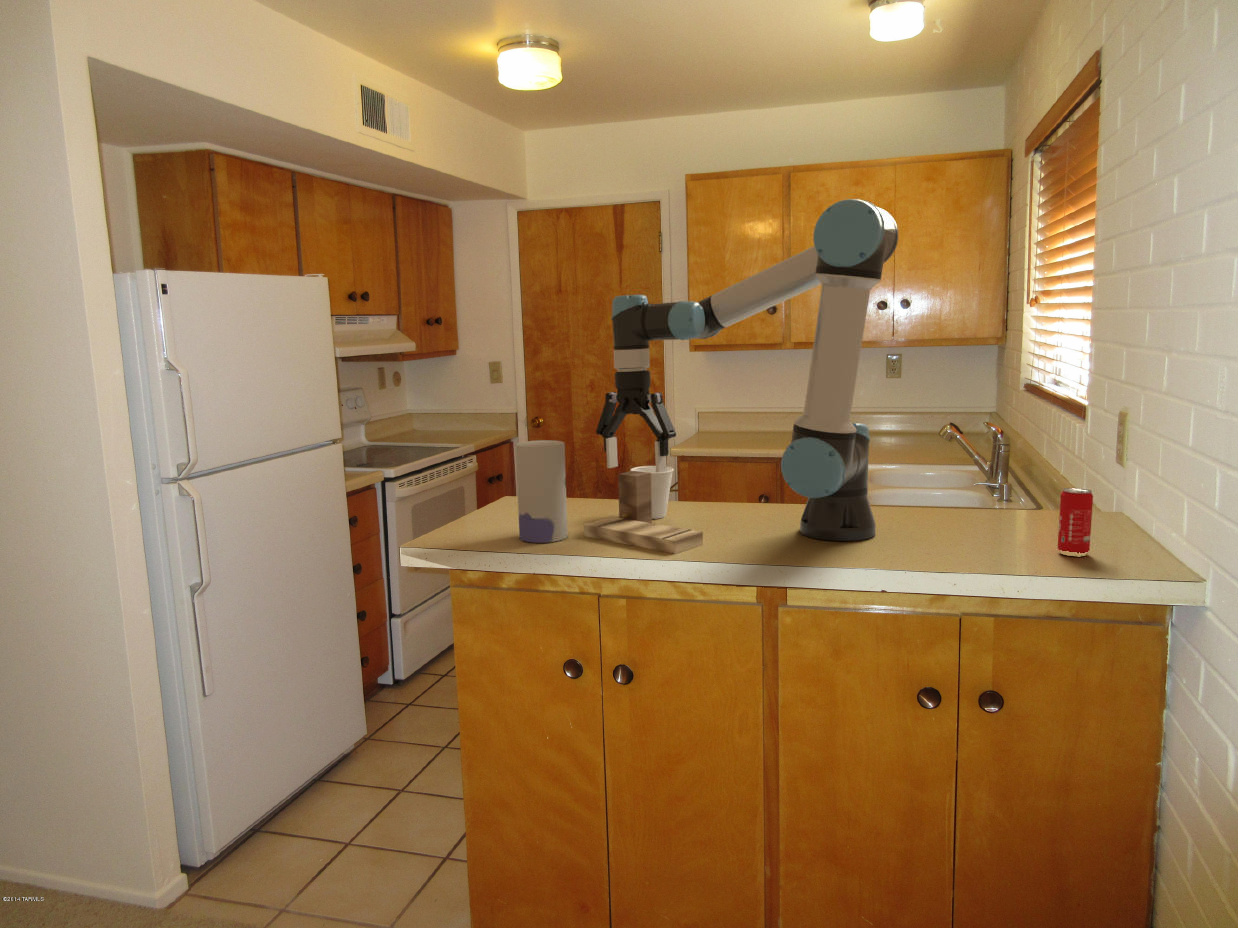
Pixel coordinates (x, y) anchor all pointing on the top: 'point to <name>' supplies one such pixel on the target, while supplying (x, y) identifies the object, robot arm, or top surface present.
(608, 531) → the plank
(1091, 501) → the beverage can
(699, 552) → the top surface
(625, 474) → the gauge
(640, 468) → the cup
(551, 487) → the container
